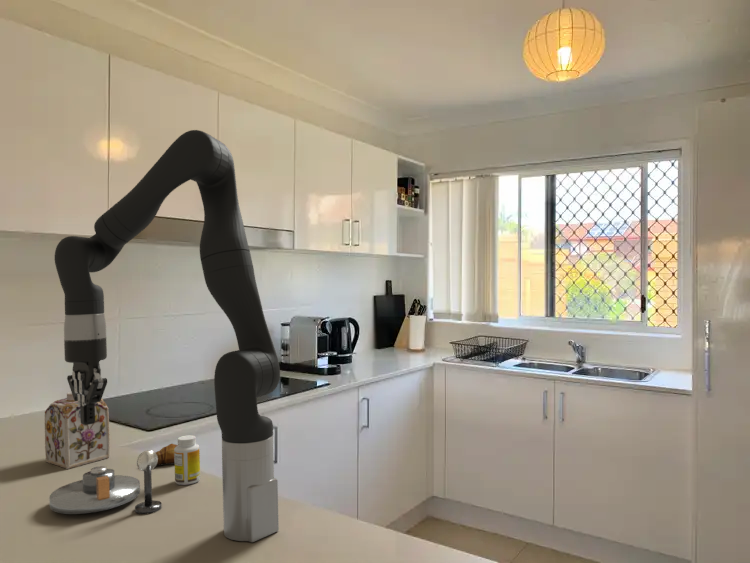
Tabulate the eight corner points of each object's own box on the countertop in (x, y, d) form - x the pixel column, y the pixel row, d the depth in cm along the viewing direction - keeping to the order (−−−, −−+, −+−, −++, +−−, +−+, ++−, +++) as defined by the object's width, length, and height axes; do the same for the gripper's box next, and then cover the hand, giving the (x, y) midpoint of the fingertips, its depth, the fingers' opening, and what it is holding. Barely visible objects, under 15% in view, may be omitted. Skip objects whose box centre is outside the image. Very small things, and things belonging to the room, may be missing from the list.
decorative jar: (88, 451, 158) (87, 386, 158) (111, 457, 151) (110, 390, 152) (43, 462, 148) (42, 393, 149) (65, 470, 142) (64, 398, 142)
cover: (111, 481, 124) (110, 462, 124) (117, 489, 119) (117, 468, 119) (80, 488, 120) (80, 468, 120) (86, 496, 115) (85, 475, 115)
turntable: (128, 477, 131) (127, 452, 131) (150, 499, 118) (149, 471, 118) (43, 496, 121) (43, 468, 121) (56, 521, 107) (56, 490, 107)
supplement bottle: (202, 476, 134) (201, 433, 134) (197, 485, 129) (196, 440, 129) (178, 478, 134) (177, 434, 134) (172, 486, 128) (171, 441, 128)
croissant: (194, 454, 153) (194, 436, 153) (201, 461, 147) (201, 442, 147) (141, 464, 146) (140, 444, 146) (146, 471, 140) (145, 451, 140)
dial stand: (166, 508, 116) (165, 450, 116) (143, 516, 112) (141, 456, 112) (153, 502, 119) (152, 446, 119) (130, 510, 115) (129, 451, 115)
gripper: (120, 336, 112) (122, 424, 112) (89, 334, 120) (91, 416, 120) (80, 339, 106) (83, 432, 106) (51, 337, 115) (54, 423, 115)
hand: (87, 423), depth 113 cm, fingers closed
